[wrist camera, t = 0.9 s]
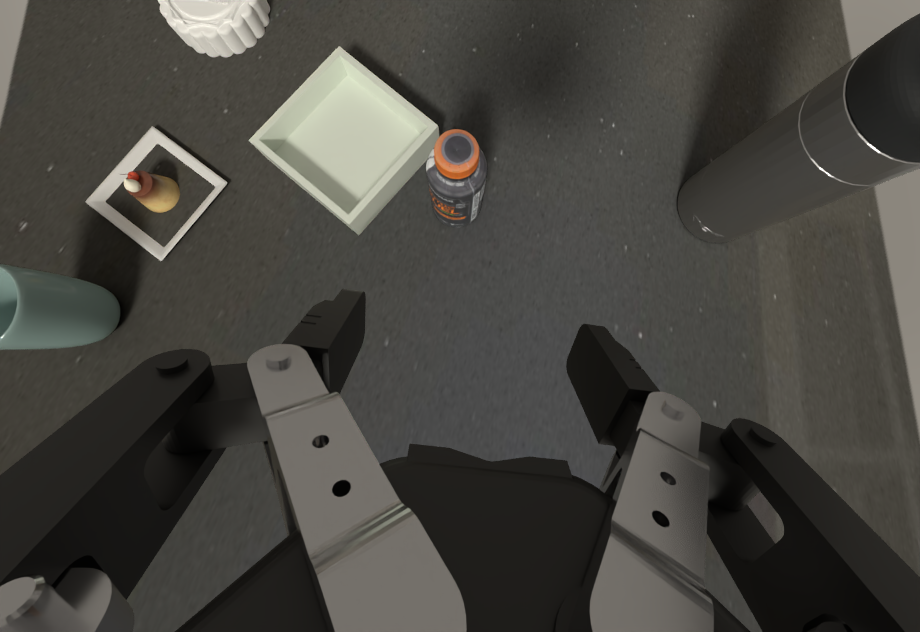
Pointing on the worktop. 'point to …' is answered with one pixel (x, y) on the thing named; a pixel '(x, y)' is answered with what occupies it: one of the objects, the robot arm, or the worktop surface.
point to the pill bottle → (456, 178)
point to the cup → (52, 310)
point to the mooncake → (217, 23)
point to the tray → (347, 139)
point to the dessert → (151, 190)
